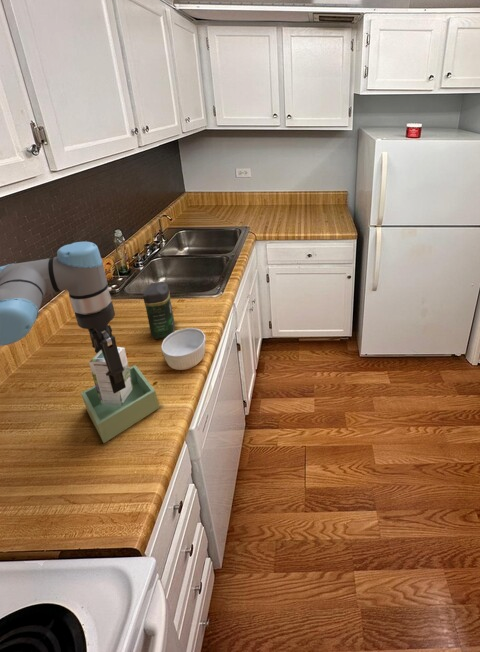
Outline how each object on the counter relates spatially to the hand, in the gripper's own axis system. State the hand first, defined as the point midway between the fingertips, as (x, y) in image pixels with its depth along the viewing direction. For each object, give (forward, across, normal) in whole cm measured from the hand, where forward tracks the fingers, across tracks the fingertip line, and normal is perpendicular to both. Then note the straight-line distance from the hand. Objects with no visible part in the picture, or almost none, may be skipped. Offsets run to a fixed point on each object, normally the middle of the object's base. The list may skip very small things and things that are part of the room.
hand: (113, 380), depth 86 cm
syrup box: (+6, 0, 0) cm, 6 cm away
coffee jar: (+10, +24, -22) cm, 34 cm away
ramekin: (+10, +5, -21) cm, 24 cm away
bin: (+10, 0, 0) cm, 10 cm away
